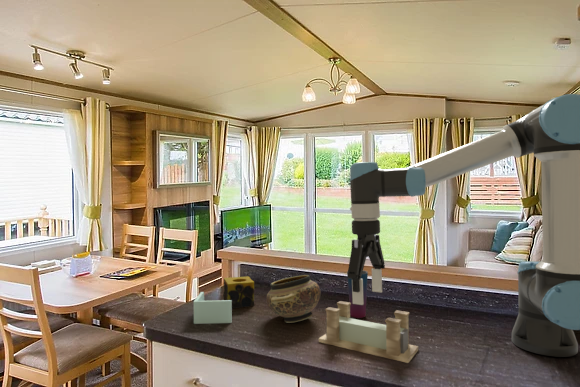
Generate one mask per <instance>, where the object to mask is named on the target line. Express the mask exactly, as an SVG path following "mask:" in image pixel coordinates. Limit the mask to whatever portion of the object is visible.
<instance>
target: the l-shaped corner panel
mask: <svg viewBox="0 0 580 387" xmlns="http://www.w3.org/2000/svg"><path fill="white" fill-rule="evenodd" d="M232 311H233V308H232V300H223V299H221V300H205V291H200V292H199V294H198V295H197V297H196V298H195V299H194V300H193V324H194V325H198V324H231V323H233V320H232V319H233V316H232V314H233V312H232Z"/></svg>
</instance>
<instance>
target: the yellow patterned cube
mask: <svg viewBox="0 0 580 387" xmlns="http://www.w3.org/2000/svg"><path fill="white" fill-rule="evenodd" d="M222 298H223V299H222V300H232V309H236V308H238V309H239V308H245V307H246V308H247V307H253V306H255V281H254V280H252V279H251V277H250V276H248V275H247V276H233V277H223V296H222Z"/></svg>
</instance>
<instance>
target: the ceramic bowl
mask: <svg viewBox="0 0 580 387" xmlns="http://www.w3.org/2000/svg"><path fill="white" fill-rule="evenodd" d="M269 286H270V290H269V291H268V293H267V294H266V298H265V299H266V300H265V301H266V304H267V306H268V308H269V310H270V311H272V312H273V313H274V314H275V315H278V316H279V317H282V318H283V321H284V323H288V324H290V323H291V324H294V323H297V322H301V321H304V320H307V319H309V318H311V317H312V316H313V312H312V311H313V310H314V309H315V308H316V306H317V305H318V303H319V301H320V300H321V296H322V295H321V292H322V291H321V288H320V286H319V284H318V283H317V282H316V281H314V280H311V276H310V275H309V274H303V275H302V274H301V275H296V276H295V275H294V276H290V277H285V278H281V279H277V280H276V281H275V280H274V281H273V282H271V283H270V285H269Z"/></svg>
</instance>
